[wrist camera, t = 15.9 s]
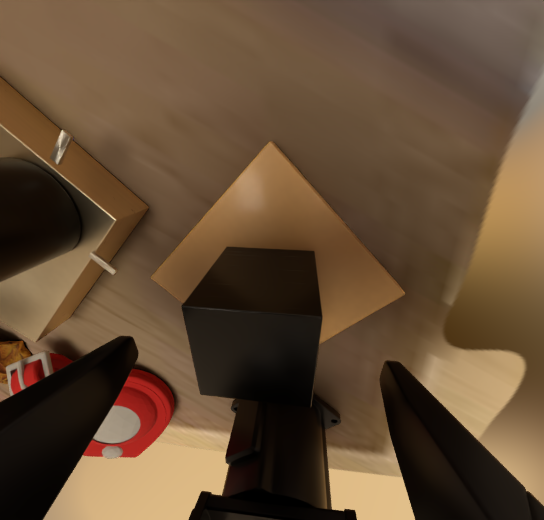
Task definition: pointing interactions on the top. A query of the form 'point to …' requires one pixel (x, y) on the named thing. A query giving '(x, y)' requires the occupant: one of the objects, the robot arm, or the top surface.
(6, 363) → the leaf
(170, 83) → the top surface
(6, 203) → the hob knob
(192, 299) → the black block
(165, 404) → the tracker holder
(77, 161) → the plate
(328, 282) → the cork trivet
